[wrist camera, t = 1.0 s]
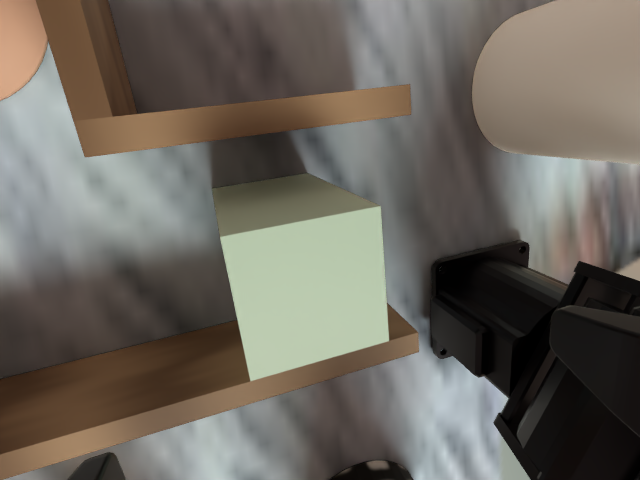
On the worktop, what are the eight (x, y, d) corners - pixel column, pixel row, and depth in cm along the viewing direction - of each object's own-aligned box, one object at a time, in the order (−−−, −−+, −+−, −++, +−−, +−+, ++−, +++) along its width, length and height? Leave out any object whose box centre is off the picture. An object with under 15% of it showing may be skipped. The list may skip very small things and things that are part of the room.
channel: (335, -168, 14) (397, -303, 10) (371, 302, 21) (418, 351, 17) (-429, -222, 9) (-1014, -545, 5) (-66, 416, 16) (-170, 532, 12)
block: (307, 173, 18) (380, 205, 11) (318, 259, 19) (389, 340, 12) (211, 188, 17) (219, 237, 10) (230, 279, 18) (250, 381, 11)
